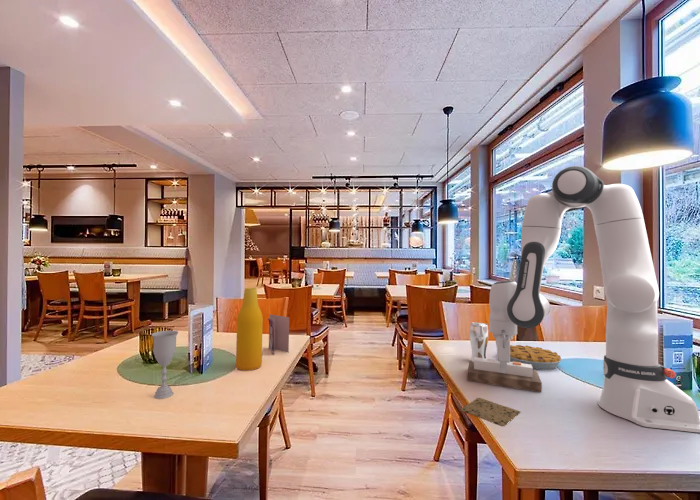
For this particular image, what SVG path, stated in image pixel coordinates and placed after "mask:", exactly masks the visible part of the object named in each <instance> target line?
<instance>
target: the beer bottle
mask: <svg viewBox="0 0 700 500" xmlns="http://www.w3.org/2000/svg"><path fill="white" fill-rule="evenodd" d="M257 289H258V288H257V287H245V288H244V291H243V297H242V298H243V300H242V304H241V307H240V309H239V312H238V314H237V318H236V344H235V345H236V349H235V350H236V351H235V352H236V353H235V355H236V356H235V368H236V369H237V370H238V371H243V372H244V371H255V370H257V369H260V367H262V363H263V323H264V321H263V320H264V319H263V317H264V316H263V313H262V310H261V308H260V306H259V301H258V291H257Z"/></svg>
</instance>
